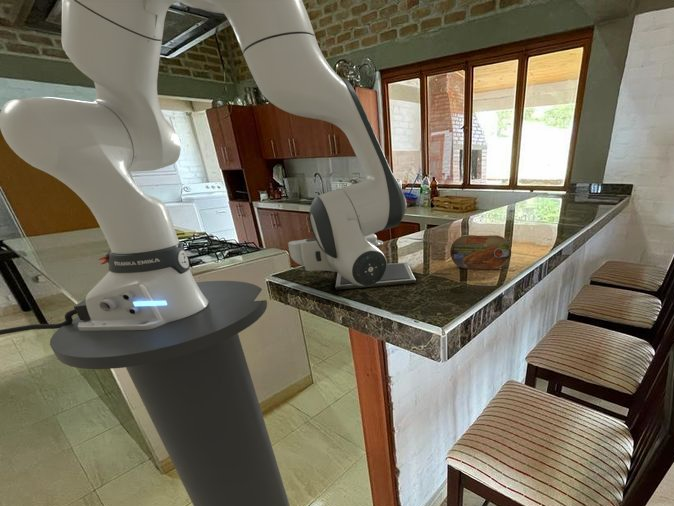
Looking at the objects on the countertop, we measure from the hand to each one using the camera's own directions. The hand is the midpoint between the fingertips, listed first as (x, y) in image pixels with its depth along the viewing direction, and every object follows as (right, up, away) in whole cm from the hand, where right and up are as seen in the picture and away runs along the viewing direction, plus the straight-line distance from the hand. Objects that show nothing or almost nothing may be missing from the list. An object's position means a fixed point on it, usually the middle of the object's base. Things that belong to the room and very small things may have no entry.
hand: (326, 239), depth 85 cm
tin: (+39, -7, +2) cm, 40 cm away
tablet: (+13, -10, -3) cm, 16 cm away
